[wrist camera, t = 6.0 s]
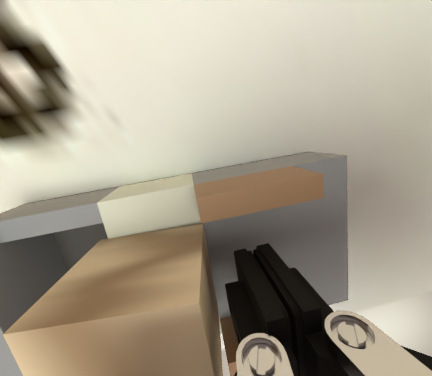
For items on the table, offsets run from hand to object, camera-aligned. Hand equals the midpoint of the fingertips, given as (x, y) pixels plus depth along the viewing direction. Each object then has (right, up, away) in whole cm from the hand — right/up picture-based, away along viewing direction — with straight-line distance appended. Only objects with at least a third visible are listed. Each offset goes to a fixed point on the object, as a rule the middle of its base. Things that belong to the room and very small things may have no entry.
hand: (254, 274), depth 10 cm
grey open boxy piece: (-4, 0, +5) cm, 6 cm away
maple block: (-4, 0, +1) cm, 5 cm away
